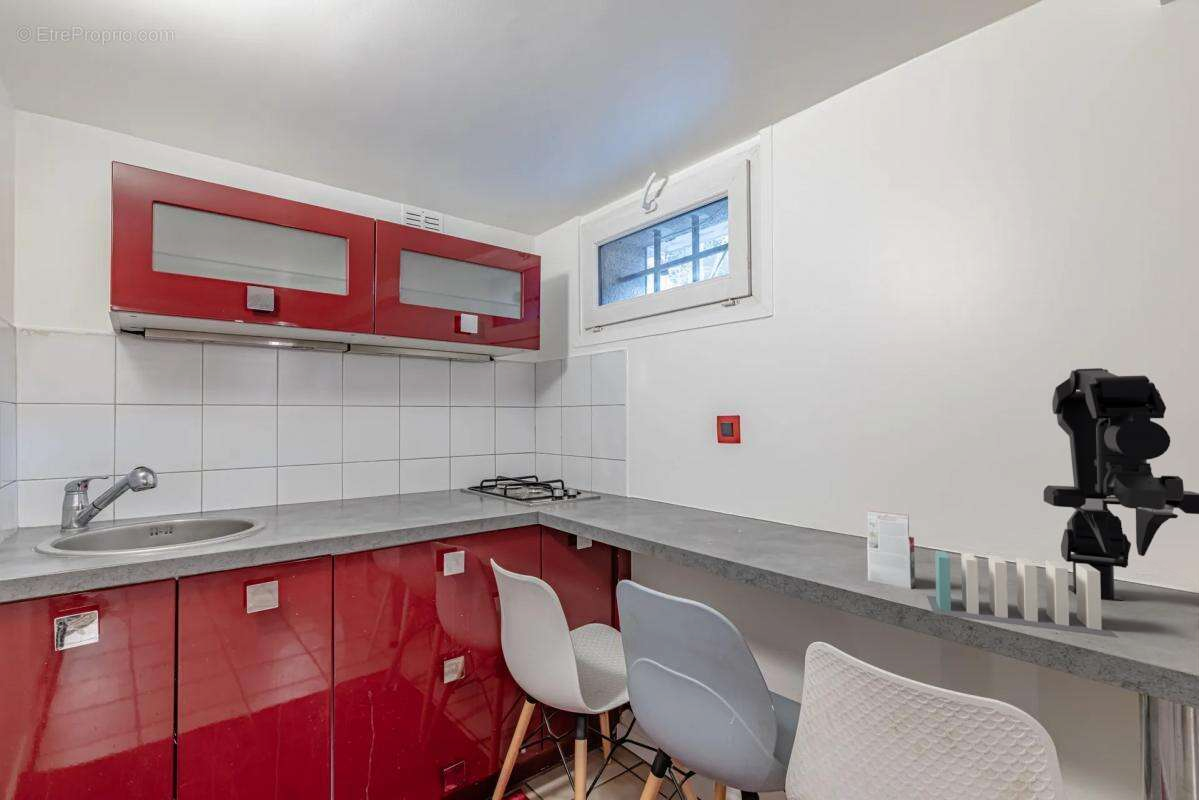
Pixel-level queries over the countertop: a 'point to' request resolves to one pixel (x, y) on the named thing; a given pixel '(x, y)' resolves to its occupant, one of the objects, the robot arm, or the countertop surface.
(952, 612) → the runner mat
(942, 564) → the domino
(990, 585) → the domino
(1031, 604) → the domino
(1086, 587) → the domino
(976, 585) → the domino
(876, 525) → the ink box
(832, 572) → the countertop surface
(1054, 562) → the domino
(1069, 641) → the countertop surface
